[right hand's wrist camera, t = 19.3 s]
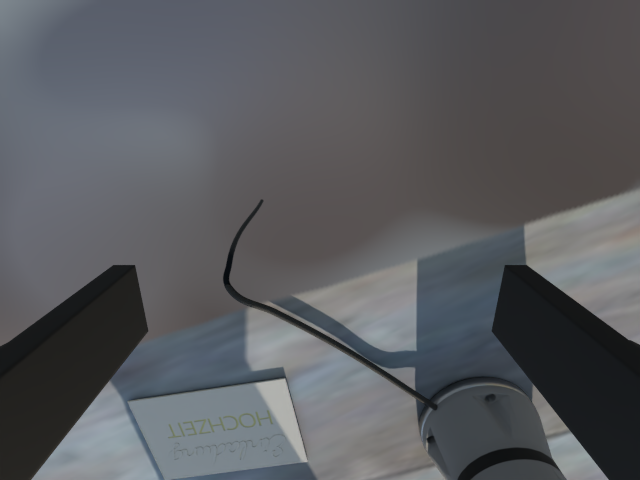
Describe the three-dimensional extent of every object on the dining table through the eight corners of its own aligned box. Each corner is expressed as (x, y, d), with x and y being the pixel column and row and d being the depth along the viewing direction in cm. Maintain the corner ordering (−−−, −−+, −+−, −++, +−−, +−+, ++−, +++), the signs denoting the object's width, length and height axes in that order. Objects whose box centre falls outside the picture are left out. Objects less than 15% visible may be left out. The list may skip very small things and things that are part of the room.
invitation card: (285, 379, 44) (307, 462, 49) (285, 377, 44) (307, 460, 49) (127, 402, 45) (164, 480, 51) (128, 400, 46) (165, 479, 51)
